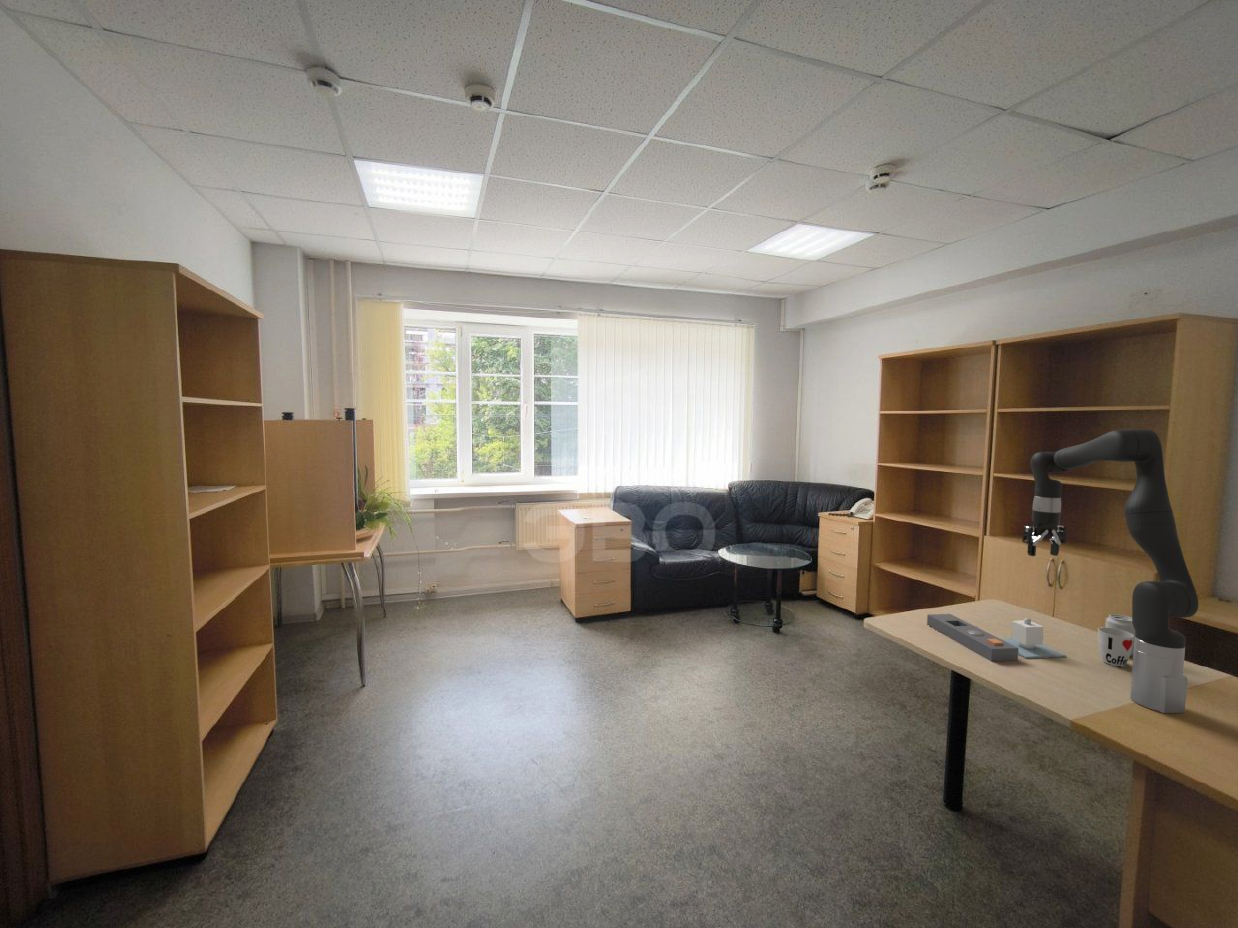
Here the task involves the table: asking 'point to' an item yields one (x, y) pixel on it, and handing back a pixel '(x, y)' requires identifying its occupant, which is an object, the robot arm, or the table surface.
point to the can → (1121, 625)
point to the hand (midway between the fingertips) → (1042, 555)
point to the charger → (1027, 633)
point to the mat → (1034, 650)
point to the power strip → (973, 637)
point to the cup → (1115, 645)
